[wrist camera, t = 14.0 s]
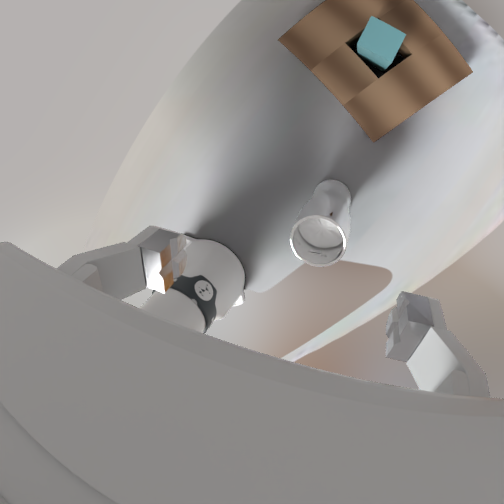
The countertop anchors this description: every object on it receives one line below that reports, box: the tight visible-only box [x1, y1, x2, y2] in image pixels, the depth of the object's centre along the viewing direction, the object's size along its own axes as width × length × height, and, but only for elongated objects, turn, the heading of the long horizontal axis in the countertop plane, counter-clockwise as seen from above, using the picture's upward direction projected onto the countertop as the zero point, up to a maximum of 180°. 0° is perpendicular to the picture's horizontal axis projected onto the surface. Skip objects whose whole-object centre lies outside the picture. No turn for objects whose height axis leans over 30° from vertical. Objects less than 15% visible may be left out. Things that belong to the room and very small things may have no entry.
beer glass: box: [290, 180, 351, 267], centre depth 38 cm, size 7×7×15 cm
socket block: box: [278, 0, 473, 143], centre depth 28 cm, size 18×18×6 cm
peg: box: [357, 16, 406, 72], centre depth 26 cm, size 4×4×12 cm
